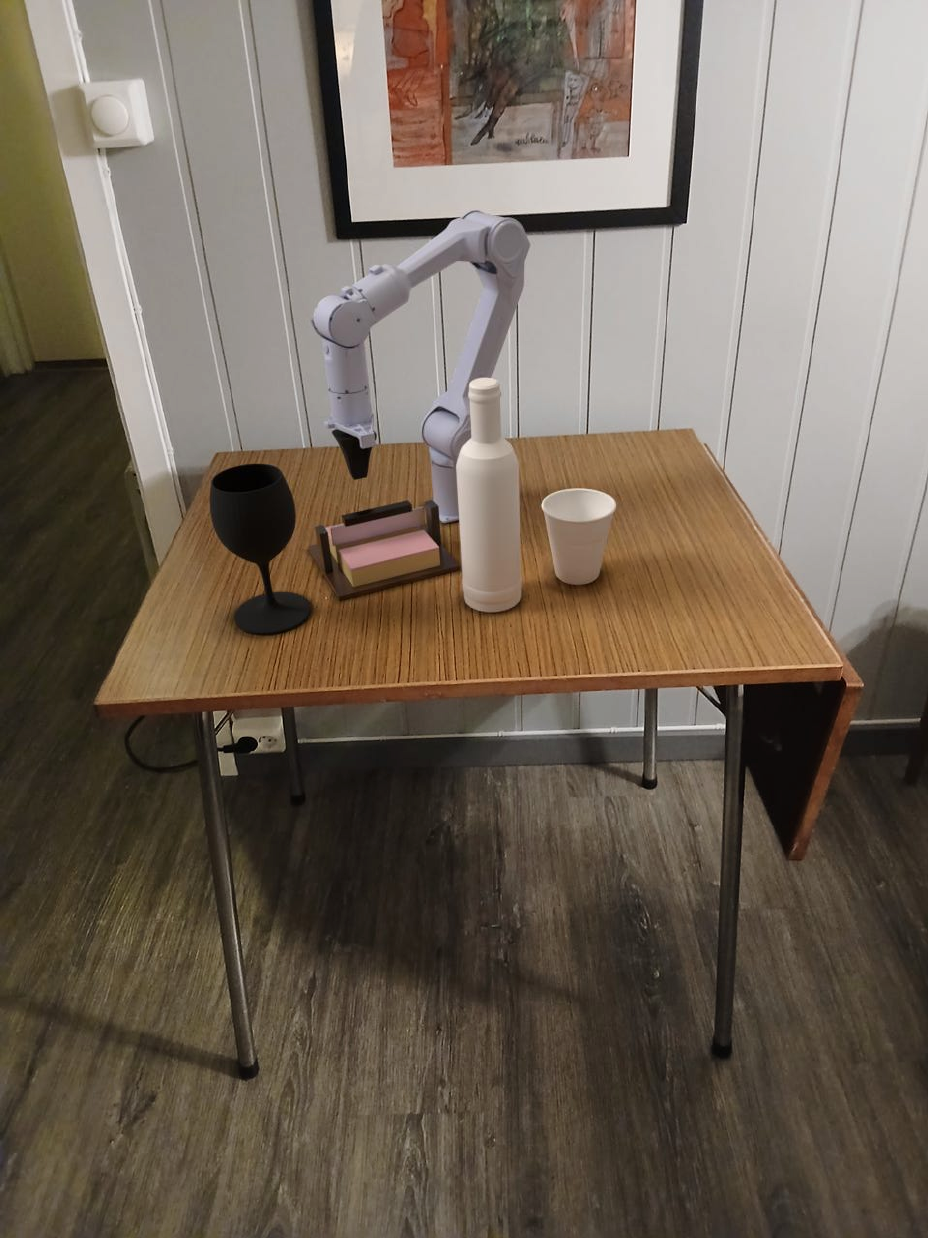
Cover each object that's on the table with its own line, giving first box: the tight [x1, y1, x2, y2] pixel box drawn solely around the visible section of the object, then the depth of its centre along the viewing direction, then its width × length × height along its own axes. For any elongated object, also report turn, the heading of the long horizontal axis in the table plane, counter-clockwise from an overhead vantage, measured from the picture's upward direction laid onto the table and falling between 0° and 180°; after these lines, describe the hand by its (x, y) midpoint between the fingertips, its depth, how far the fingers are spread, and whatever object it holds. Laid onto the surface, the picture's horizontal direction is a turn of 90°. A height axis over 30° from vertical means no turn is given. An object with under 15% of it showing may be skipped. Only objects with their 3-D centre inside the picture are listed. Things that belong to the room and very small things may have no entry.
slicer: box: [307, 499, 461, 602], centre depth 134 cm, size 18×16×7 cm
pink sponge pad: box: [325, 523, 440, 587], centre depth 135 cm, size 13×14×3 cm
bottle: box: [456, 377, 523, 614], centre depth 118 cm, size 8×8×30 cm
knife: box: [330, 499, 426, 546], centre depth 133 cm, size 14×2×4 cm, turn 113°
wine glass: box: [209, 463, 312, 636], centre depth 120 cm, size 10×10×20 cm
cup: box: [540, 487, 617, 586], centre depth 127 cm, size 10×10×11 cm
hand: (359, 476), depth 136 cm, fingers closed
